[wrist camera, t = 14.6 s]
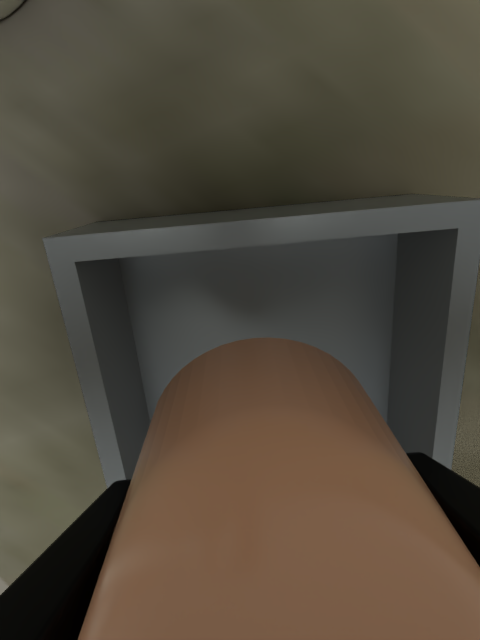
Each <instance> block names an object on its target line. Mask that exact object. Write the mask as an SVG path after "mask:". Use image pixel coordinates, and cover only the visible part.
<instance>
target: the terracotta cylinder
mask: <svg viewBox="0 0 480 640" xmlns="http://www.w3.org/2000/svg"><path fill="white" fill-rule="evenodd" d="M78 640H480V567H479V565H478V564H477V562H476V561H475V559H474V558H473V556H472V555H471V553H470V551H469V550H468V548H467V547H466V545H465V544H464V542H463V541H462V539H461V538H460V536H459V534H458V533H457V531H456V530H455V528H454V527H453V525H452V524H451V522H450V521H449V519H448V518H447V516H446V514H445V513H444V511H443V510H442V508H441V507H440V505H439V504H438V502H437V501H436V499H435V498H434V496H433V494H432V493H431V491H430V490H429V488H428V487H427V485H426V484H425V482H424V481H423V479H422V478H421V476H420V474H419V473H418V471H417V470H416V468H415V467H414V465H413V464H412V462H411V461H410V459H409V458H408V456H407V454H406V453H405V451H404V450H403V448H402V447H401V445H400V444H399V442H398V441H397V439H396V438H395V436H394V434H393V433H392V431H391V430H390V428H389V427H388V425H387V424H386V422H385V421H384V419H383V417H382V416H381V414H380V413H379V411H378V410H377V408H376V407H375V405H374V404H373V402H372V401H371V399H370V397H369V396H368V394H367V393H366V391H365V390H364V388H363V387H362V385H361V384H360V382H359V381H358V380H357V378H356V377H355V376H354V375H353V373H352V372H351V371H350V370H349V369H348V368H347V367H346V366H344V365H343V364H342V363H341V362H340V361H339V360H337V359H336V358H334V357H333V356H331V355H330V354H328V353H326V352H324V351H322V350H320V349H318V348H316V347H314V346H311V345H308V344H305V343H302V342H298V341H294V340H289V339H282V338H270V337H268V338H251V339H244V340H238V341H234V342H231V343H227V344H224V345H221V346H219V347H216V348H214V349H212V350H209V351H207V352H205V353H204V354H202V355H200V356H199V357H197V358H195V359H194V360H192V361H191V362H190V363H188V364H187V365H186V366H185V367H183V368H182V369H181V370H180V371H179V372H178V373H177V374H176V375H175V376H174V377H173V378H172V380H171V381H170V382H169V384H168V385H167V386H166V388H165V389H164V391H163V393H162V395H161V396H160V398H159V400H158V402H157V405H156V408H155V411H154V414H153V417H152V420H151V423H150V426H149V429H148V432H147V435H146V438H145V441H144V444H143V446H142V449H141V452H140V455H139V458H138V461H137V464H136V467H135V470H134V473H133V476H132V479H131V482H130V485H129V488H128V491H127V494H126V497H125V500H124V503H123V506H122V509H121V512H120V515H119V518H118V521H117V524H116V527H115V530H114V533H113V536H112V539H111V542H110V545H109V548H108V551H107V554H106V557H105V560H104V563H103V566H102V569H101V572H100V575H99V578H98V580H97V583H96V586H95V589H94V592H93V595H92V598H91V601H90V604H89V607H88V610H87V613H86V616H85V619H84V622H83V625H82V628H81V631H80V634H79V637H78Z"/></svg>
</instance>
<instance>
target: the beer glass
mask: <svg viewBox="0 0 480 640" xmlns="http://www.w3.org/2000/svg"><path fill="white" fill-rule="evenodd" d="M23 2H24V0H0V20H1V19H3V18H5V17H7V16H8V15H10V14H11V13H13V12H14V11H15V10H16V9H17V8H18V7H19V6H20V5H21V4H22V3H23Z"/></svg>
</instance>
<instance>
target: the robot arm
mask: <svg viewBox="0 0 480 640" xmlns="http://www.w3.org/2000/svg"><path fill="white" fill-rule="evenodd" d="M406 454H407V456H408V458H409V459H410V461H411V462H412V464H413V465H414V467H415V468H416V470H417V471H418V473H419V474H420V476H421V478H422V479H423V481H424V482H425V484H426V485H427V487H428V488H429V490H430V491H431V493H432V494H433V496H434V498H435V499H436V501H437V502H438V504H439V505H440V507H441V508H442V510H443V511H444V513H445V514H446V516H447V518H448V519H449V521H450V522H451V524H452V525H453V527H454V528H455V530H456V531H457V533H458V534H459V536H460V538H461V539H462V541H463V542H464V544H465V545H466V547H467V548H468V550H469V551H470V553H471V555H472V556H473V558H474V559H475V561H476V562H477V564H478V565H479V567H480V488H479V487H478V486H476V485H474V484H473V483H471V482H470V481H468V480H466V479H465V478H463V477H462V476H460V475H458V474H457V473H455V472H454V471H452V470H450V469H449V468H447V467H445V466H444V465H442V464H441V463H439V462H437V461H436V460H434V459H433V458H431V457H429V456H428V455H426V454H424V453H422V452H410V453H406ZM130 482H131V479H127V480H118V481H115V482H114V483H112V484H111V485H110V486H109V487H108V488H107V489H106V490H105V491H104V492H103V493H102V494H101V495H100V496H99V497H98V498H97V499H96V500H95V501H94V502H93V503H92V504H91V505H90V506H89V507H88V508H87V509H86V510H85V511H84V512H83V513H82V514H81V515H80V516H79V517H78V518H77V519H76V520H75V521H74V522H73V523H72V524H71V525H70V526H69V527H68V528H67V529H66V530H65V531H64V532H63V533H62V534H61V535H60V536H59V537H58V538H57V539H56V540H55V541H54V542H53V543H52V544H51V545H50V546H49V547H48V548H47V549H46V550H45V551H44V552H43V553H42V554H41V555H40V556H39V557H38V558H37V559H36V560H35V561H34V562H33V563H32V564H31V565H30V566H29V567H28V568H27V569H26V570H25V571H24V572H23V573H22V574H21V575H20V576H19V577H18V578H17V579H16V580H15V581H14V582H13V583H12V584H11V585H10V586H9V587H8V588H7V589H6V590H5V591H4V592H3V593H2V594H1V595H0V640H78V637H79V634H80V631H81V628H82V625H83V622H84V619H85V616H86V613H87V610H88V607H89V604H90V601H91V598H92V595H93V592H94V589H95V586H96V583H97V580H98V578H99V575H100V572H101V569H102V566H103V563H104V560H105V557H106V554H107V551H108V548H109V545H110V542H111V539H112V536H113V533H114V530H115V527H116V524H117V521H118V518H119V515H120V512H121V509H122V506H123V503H124V500H125V497H126V494H127V491H128V488H129V485H130Z"/></svg>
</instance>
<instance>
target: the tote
mask: <svg viewBox="0 0 480 640" xmlns="http://www.w3.org/2000/svg"><path fill="white" fill-rule="evenodd" d="M42 239H43V242H44V246H45V250H46V254H47V258H48V262H49V266H50V269H51V273H52V277H53V281H54V285H55V289H56V292H57V296H58V300H59V304H60V308H61V312H62V316H63V319H64V323H65V327H66V331H67V335H68V339H69V342H70V346H71V350H72V354H73V358H74V362H75V366H76V369H77V373H78V377H79V381H80V385H81V389H82V393H83V396H84V400H85V404H86V408H87V412H88V416H89V419H90V423H91V427H92V431H93V435H94V439H95V443H96V446H97V450H98V454H99V458H100V462H101V466H102V469H103V473H104V477H105V481H106V485H107V488H108V487H109V486H110V485H111V484H112V483H114V482H115V481H118V480H127V479H132V476H133V473H134V470H135V467H136V464H137V461H138V458H139V455H140V452H141V449H142V446H143V444H144V441H145V438H146V435H147V432H148V429H149V426H150V423H151V420H152V417H153V414H154V411H155V408H156V405H157V402H158V400H159V398H160V396H161V395H162V393H163V391H164V389H165V388H166V386H167V385H168V384H169V382H170V381H171V380H172V378H173V377H174V376H175V375H176V374H177V373H178V372H179V371H180V370H181V369H182V368H183V367H185V366H186V365H187V364H188V363H190V362H191V361H192V360H194V359H195V358H197V357H199V356H200V355H202V354H204V353H205V352H207V351H209V350H212V349H214V348H216V347H219V346H221V345H224V344H227V343H231V342H234V341H238V340H244V339H251V338H268V337H270V338H282V339H289V340H294V341H298V342H302V343H305V344H308V345H311V346H314V347H316V348H318V349H320V350H322V351H324V352H326V353H328V354H330V355H331V356H333V357H334V358H336V359H337V360H339V361H340V362H341V363H342V364H343V365H344V366H346V367H347V368H348V369H349V370H350V371H351V372H352V373H353V375H354V376H355V377H356V378H357V380H358V381H359V382H360V384H361V385H362V387H363V388H364V390H365V391H366V393H367V394H368V396H369V397H370V399H371V401H372V402H373V404H374V405H375V407H376V408H377V410H378V411H379V413H380V414H381V416H382V417H383V419H384V421H385V422H386V424H387V425H388V427H389V428H390V430H391V431H392V433H393V434H394V436H395V438H396V439H397V441H398V442H399V444H400V445H401V447H402V448H403V450H404V451H405V453H410V452H422V453H424V454H426V455H428V456H429V457H431V458H433V459H434V460H436V461H437V462H439V463H441V464H442V465H444V466H445V467H447V468H449V469H450V470H451V467H452V460H453V452H454V445H455V438H456V430H457V423H458V415H459V408H460V401H461V393H462V386H463V379H464V371H465V364H466V356H467V349H468V342H469V334H470V327H471V320H472V312H473V305H474V297H475V290H476V283H477V275H478V268H479V261H480V198H466V197H451V196H436V195H422V194H406V195H395V196H384V197H373V198H361V199H350V200H339V201H327V202H316V203H305V204H293V205H282V206H271V207H259V208H248V209H237V210H226V211H214V212H203V213H192V214H180V215H169V216H158V217H146V218H135V219H124V220H113V221H101V222H95V223H91V224H88V225H85V226H81V227H78V228H75V229H72V230H68V231H65V232H62V233H58V234H55V235H52V236H48V237H45V238H42Z"/></svg>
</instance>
